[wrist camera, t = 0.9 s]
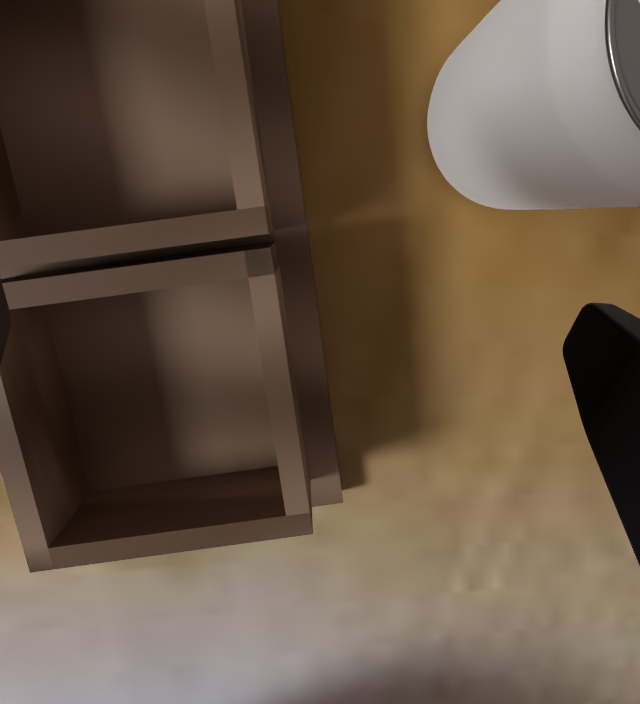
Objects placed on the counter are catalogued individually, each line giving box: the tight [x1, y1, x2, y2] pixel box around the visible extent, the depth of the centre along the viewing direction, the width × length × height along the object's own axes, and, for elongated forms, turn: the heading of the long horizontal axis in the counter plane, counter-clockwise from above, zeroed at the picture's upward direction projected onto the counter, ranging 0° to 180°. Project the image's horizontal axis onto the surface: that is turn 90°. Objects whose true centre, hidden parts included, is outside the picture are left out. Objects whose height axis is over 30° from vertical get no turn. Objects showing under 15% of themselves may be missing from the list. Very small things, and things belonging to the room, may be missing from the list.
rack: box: [0, 0, 343, 572], centre depth 19 cm, size 22×12×5 cm, turn 7°
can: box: [427, 0, 640, 210], centre depth 15 cm, size 6×6×12 cm
